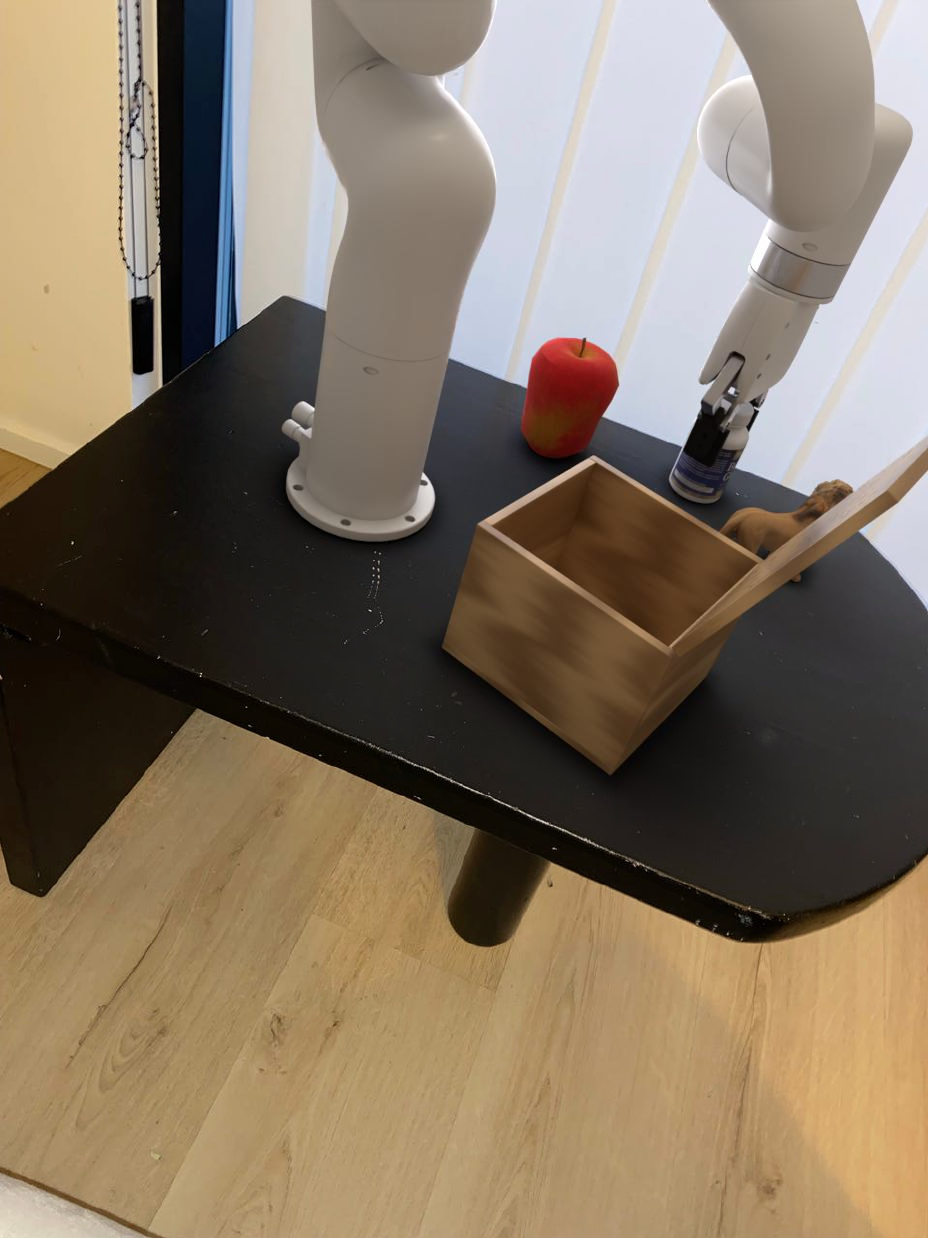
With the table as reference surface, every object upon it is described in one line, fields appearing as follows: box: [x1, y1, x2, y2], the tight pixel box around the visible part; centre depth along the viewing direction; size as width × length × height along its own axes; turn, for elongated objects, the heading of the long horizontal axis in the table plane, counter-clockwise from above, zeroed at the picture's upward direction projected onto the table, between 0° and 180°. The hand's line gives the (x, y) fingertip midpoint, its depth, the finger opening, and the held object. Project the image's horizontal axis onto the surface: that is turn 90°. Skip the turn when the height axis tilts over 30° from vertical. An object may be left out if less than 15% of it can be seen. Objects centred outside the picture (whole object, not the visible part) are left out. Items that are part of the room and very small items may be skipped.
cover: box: [672, 435, 928, 657], centre depth 55 cm, size 16×14×1 cm
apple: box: [520, 336, 620, 459], centre depth 89 cm, size 9×8×12 cm
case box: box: [441, 455, 765, 776], centre depth 68 cm, size 15×14×12 cm
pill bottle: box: [668, 392, 755, 504], centre depth 90 cm, size 5×5×10 cm
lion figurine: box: [718, 478, 855, 583], centre depth 83 cm, size 15×5×9 cm, turn 116°
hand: (713, 447), depth 90 cm, fingers closed on pill bottle, 5 cm apart
